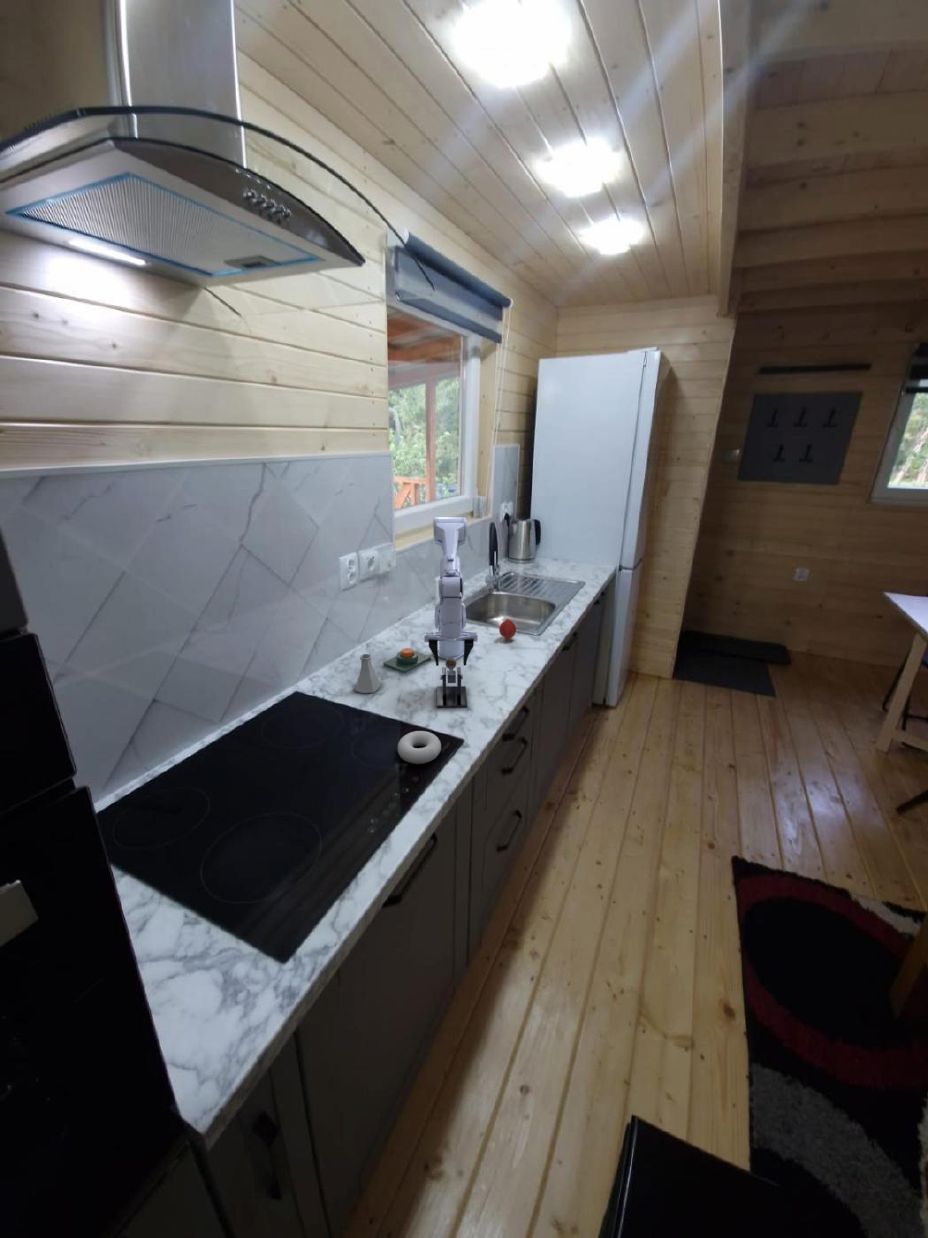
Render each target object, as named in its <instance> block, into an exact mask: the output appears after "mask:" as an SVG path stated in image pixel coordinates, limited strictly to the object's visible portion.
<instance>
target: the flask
mask: <svg viewBox="0 0 928 1238" xmlns="http://www.w3.org/2000/svg"><path fill="white" fill-rule="evenodd" d="M371 659H372V654H370V653H362V654H360V655H359V660H360V664H361V665H360V671H359V674H358V678H357V681H356V683H355V688H354V689H355V690H354V691H355V692H358V693H360V694H371V693H375V692H377V691H378V690H380V689H381V681H380V680H379V677H378V676H377V674H376V672H375V669H374V667H373V665H372V660H371Z"/></svg>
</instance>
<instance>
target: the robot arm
mask: <svg viewBox="0 0 928 1238" xmlns="http://www.w3.org/2000/svg"><path fill="white" fill-rule="evenodd" d="M432 521H433V525H432V526H433V528H432V529H433V540H434V543H435V545H437V546H438V547H439V546H440V548H441V550H442V556H441V558H440V560H439V578H438V598H439V601H438V602H436V604H435V606H434V628H435V629H436V630H438V631H433V632H424V635H423V636H424V643H428V648H429V650H430V651H431V653H432V655H433V658H434V662H435V666H436V667H439V664H440V662H439V661H440V660H439V658H441V659H445V660H447V659H449V658H453V659H455V660H456V661H457V659H459V658H461V657H463V658H462V661H463V666H467V664H468V663H467V662H468V659H469V656H470V653H471V651H472V650H473V648H474V645H475V643H474V642H476V643H478V637H479V636H478V632H471V631H468V630H467V629H466V627H467V613H466V612H467V611H466V605H465V603H464V602H463V601H462V600H463V598H464V593H465V592H464V591H465V590H464V589H465V588H464V585H465V584H464V577H463V573H462V559H461V558H460V557H459V556H458V550H459V547H461V546H463V545H465V543H466V539H467V533H468V532H467V530H468V528H467V527H468V526H467V524H468V523H467V522H468V521H467V518H466V517H465V516H462V517H438V516H435V517H434V518H433V520H432Z"/></svg>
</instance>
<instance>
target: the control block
mask: <svg viewBox="0 0 928 1238" xmlns="http://www.w3.org/2000/svg"><path fill="white" fill-rule="evenodd" d="M429 661H431V656H430V655H427V654H424V653H421V652H418V651H416V650H413V656H412V657H409V658H404V657H402V656H401V650H400V651H398V652H397V653H396V656H394V657H392V658H390V659H388V660H386V661H384V662H383V667H387V668H390V669H392V670H395V671H398V672H400V673H403V674H407V673H409V672H410V671H412V670H414V669H416V668H417V667H419V666H421V665H423V664H424V663H425V662H426V663H427V662H429Z"/></svg>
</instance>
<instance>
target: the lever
mask: <svg viewBox="0 0 928 1238" xmlns="http://www.w3.org/2000/svg"><path fill="white" fill-rule="evenodd" d="M444 665H445V667H446V669H448V670H446V680H447V684H457V670H455V669H456V668H457V659H456V660H455V659H453V658H449V659H445V663H444Z"/></svg>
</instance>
